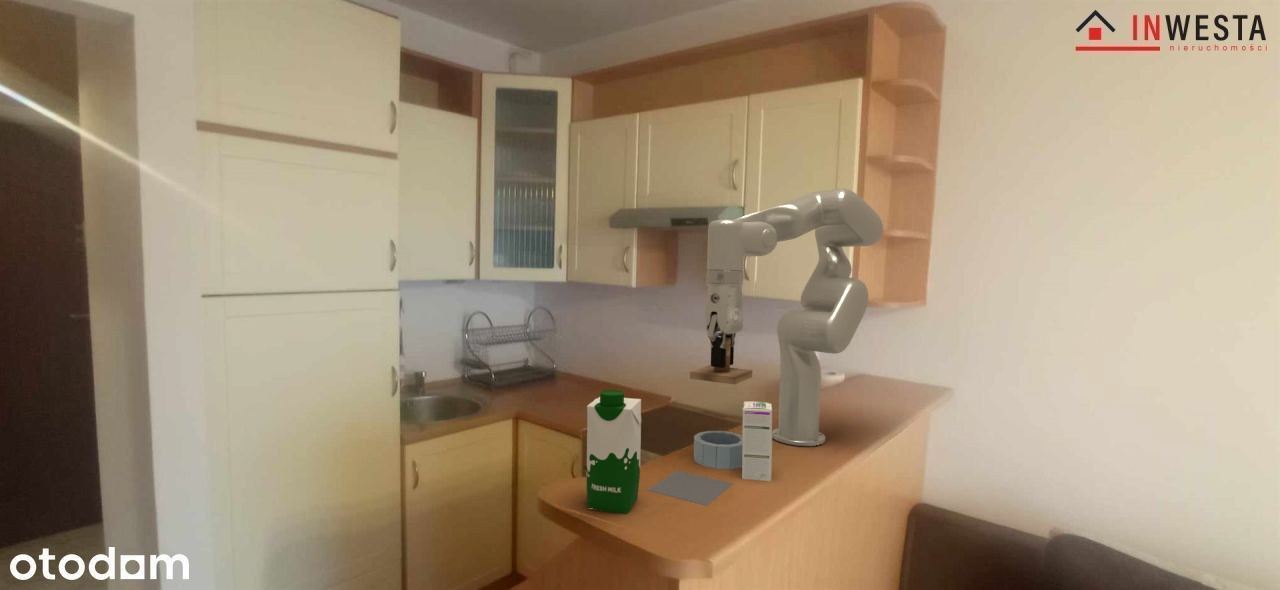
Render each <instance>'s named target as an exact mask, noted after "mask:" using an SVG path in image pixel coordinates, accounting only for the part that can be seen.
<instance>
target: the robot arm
mask: <svg viewBox="0 0 1280 590" xmlns="http://www.w3.org/2000/svg"><path fill="white" fill-rule="evenodd" d="M883 225H884V224H883V220H882V218H881V217H880V215H879V214H878V213H877V211H875V210H874V208H872V207H871V206H870V204H868V203H867V202H866V201H865V200H864V199H863V197H861V196H860V195H859V194H857V193H856V192H855V191H853V190H850V189H847V188H837V189H829V190H818V191H814V192H809V193H806V194H804V195H802V196H800V197H797V198H795V199H793V200H789V201H787V202H784V203H782V204H779V205H775V206H771V207H769V208H766V209H764V210H760V211H756V212H753V213H750V214H749V213H748V214H746V215H743V216H740V217H737V218H734V219H717V220H712V221H710V222H709V224H708V227H707V252H706V253H707V255H706V258H707V260H706V286H707V287H708V289H707V293H706V305H705V330H706V331H707V337H708V339H709V341H710V342H709V343H710V344H709V346H710V365H711V366H712V367H720V368H725V367H726V349H725V348H724V347H725V337H728V338H731V347H730V366H733V365H734V357H735V356H734V355H735V353H734V352H735V340H736V339H735V337H736V335H737V333H739V332H742V330H743V328H744V308H743V307H744V306H743V302H744V301H743V291H742V289H743V288H742V287H743V281H744V280H743V279H744V257H764V256H767V255H768V254H771V253H772V252H773V251H774V250H775V249H776V246H777V245H778V243H779V242H785V241H789V240H795V239H797V238H800V237H802V236H803V235H806V234H807V233H809V232H811V231H814V235H815V241H816V246H817V247H816V248H817V252H818V253H817V254H818V262H817V264H816V266H815V267H814V270H813V272H812V274H811V275H810V277H809V279H808V280H807V283H806V284H805V286H804V288H803V290H802V293H801V296H800V304H801V306H802V308H803V309H792V310H789V311H786V312H784V313H783V314H782V315H781V316H780V317H779V319H778V321H777V326H776V333H777V339H778V345H779V353H780V355H779V357H780V360H779V361H780V364H779V365H780V369H779V370H780V371H779V372H780V373H779V397H778V398H779V399H778V428H775V429H772V439H773V440H775V441H777V442H779V443H782V444H786V445H791V446H798V447H816V445H817V446H821V445H823V444H824V443H825V442H826V435H825V434H824V433H822V432H821V431H820V410H821V409H820V408H821V406H820V405H821V404H820V403H821V381H822V380H821V379H822V378H821V377H822V370H821V364H820V360H819V359H818V356H817V354H816V352H818V353H825V354H831V355H833V354H834V355H835V354H840V353H843V352H844V351H845V350H846V349H847V348H848V346H849V345H850V344H851V341H852V340H853V337H854V335H855V334H856V332H857V330H858V328H859V326H860V324H861V321H862V320H863V318H864V316H865V314H866V311H867V309H868V303H869V290H868V287H867V285H866V284H865V282H864V281H862V280H861V279H859V278H855V277H851V274H852V270H853V269H852V264H851V262H850V260H849V258H848V257H847V255H846V254H845V252H844V248H846V247H849V248H851V247H852V248H853V247H870V246H873V245H875V244H877V243H878V242H879V241H880V240H881V239H882V236H883V233H884V226H883ZM719 337H721V340H720V338H719ZM820 444H821V445H820Z"/></svg>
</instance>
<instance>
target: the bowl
mask: <svg viewBox="0 0 1280 590" xmlns="http://www.w3.org/2000/svg"><path fill="white" fill-rule="evenodd" d="M693 460H694V462H695V463H697V464H699V465H700V466H702V467H704V468H705V467H706V468H710V469H715V470H716V469H717V470H732V469H733V470H734V469H738V468H742V434H739V433H737V432H731V431H727V430H726V431H725V430H707V431H701V432H698V433H696V434H695V435H694V436H693Z"/></svg>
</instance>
